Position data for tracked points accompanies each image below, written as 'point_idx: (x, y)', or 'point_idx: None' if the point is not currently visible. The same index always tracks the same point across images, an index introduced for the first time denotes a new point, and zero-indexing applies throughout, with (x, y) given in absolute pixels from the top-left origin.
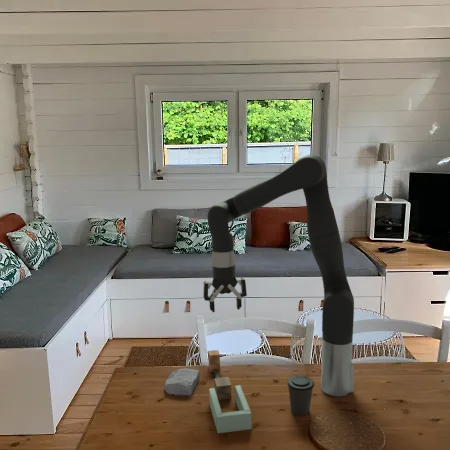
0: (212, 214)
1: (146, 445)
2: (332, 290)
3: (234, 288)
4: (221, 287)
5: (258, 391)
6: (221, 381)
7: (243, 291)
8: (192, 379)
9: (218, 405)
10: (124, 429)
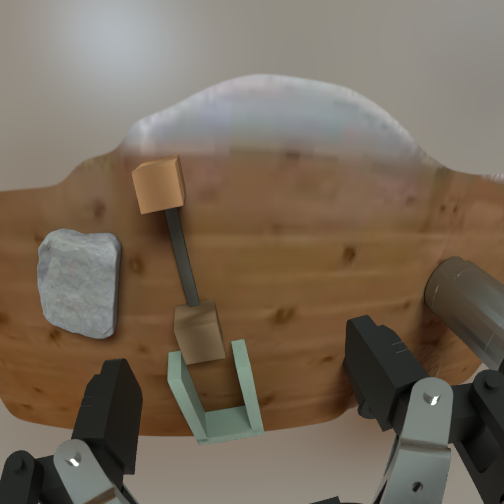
0: None
1: None
2: None
3: (433, 489)
4: None
5: (294, 303)
6: (197, 344)
7: (471, 466)
8: (107, 315)
9: (198, 424)
10: (41, 402)
